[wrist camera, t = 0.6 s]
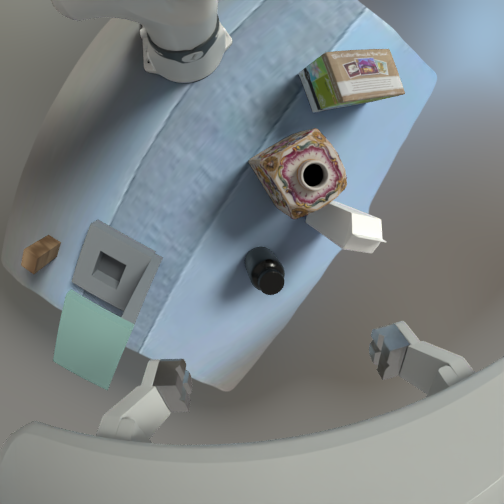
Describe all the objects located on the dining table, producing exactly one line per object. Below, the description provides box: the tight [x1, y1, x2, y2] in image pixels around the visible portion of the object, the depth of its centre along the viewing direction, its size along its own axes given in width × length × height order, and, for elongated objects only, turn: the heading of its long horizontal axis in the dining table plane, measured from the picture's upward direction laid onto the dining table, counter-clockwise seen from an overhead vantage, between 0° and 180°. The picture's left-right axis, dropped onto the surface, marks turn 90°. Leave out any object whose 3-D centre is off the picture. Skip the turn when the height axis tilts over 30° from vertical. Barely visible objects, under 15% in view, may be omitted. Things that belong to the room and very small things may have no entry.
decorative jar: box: [249, 128, 347, 219], centre depth 47 cm, size 12×12×18 cm
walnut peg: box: [21, 235, 61, 274], centre depth 47 cm, size 4×4×11 cm
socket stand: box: [53, 220, 163, 390], centre depth 44 cm, size 17×15×28 cm
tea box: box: [299, 49, 405, 112], centre depth 44 cm, size 15×10×15 cm
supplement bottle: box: [245, 247, 285, 295], centre depth 55 cm, size 7×7×12 cm
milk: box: [305, 201, 386, 253], centre depth 49 cm, size 6×6×22 cm
